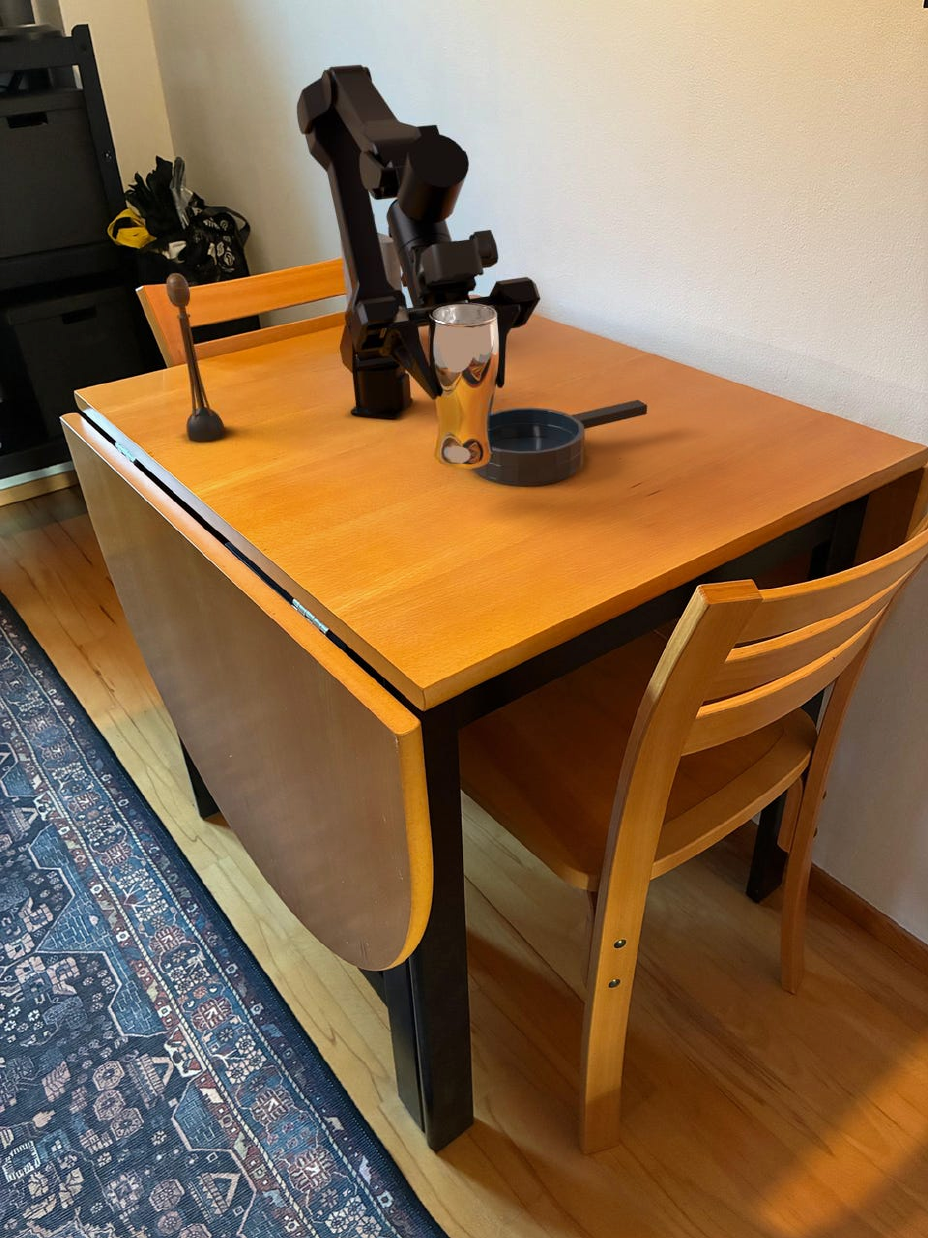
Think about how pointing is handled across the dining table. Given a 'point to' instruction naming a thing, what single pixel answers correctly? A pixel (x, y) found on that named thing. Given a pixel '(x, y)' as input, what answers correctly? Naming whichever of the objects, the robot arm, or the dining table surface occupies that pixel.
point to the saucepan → (533, 447)
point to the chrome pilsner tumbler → (464, 381)
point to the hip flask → (389, 262)
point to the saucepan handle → (611, 413)
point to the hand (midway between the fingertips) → (468, 391)
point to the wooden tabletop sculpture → (193, 369)
